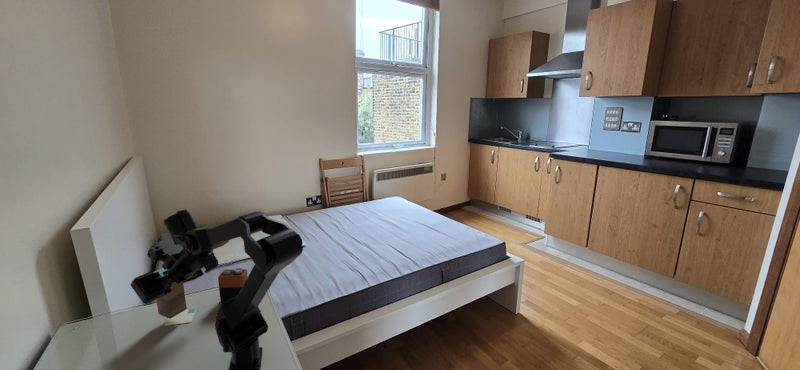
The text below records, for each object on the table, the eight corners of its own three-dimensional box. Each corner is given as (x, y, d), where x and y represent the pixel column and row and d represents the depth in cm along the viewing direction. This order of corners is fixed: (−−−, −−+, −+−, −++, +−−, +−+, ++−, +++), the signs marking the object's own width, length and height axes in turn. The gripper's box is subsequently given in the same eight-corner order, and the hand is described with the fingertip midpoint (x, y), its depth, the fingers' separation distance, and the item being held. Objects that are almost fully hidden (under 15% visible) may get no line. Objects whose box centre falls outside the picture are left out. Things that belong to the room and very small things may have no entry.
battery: (245, 304, 95) (242, 273, 93) (220, 305, 94) (217, 274, 92) (249, 295, 100) (247, 265, 97) (225, 296, 99) (222, 266, 96)
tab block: (186, 309, 87) (181, 268, 84) (170, 318, 83) (163, 276, 80) (175, 304, 89) (169, 265, 86) (158, 314, 85) (152, 272, 82)
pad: (190, 322, 87) (190, 321, 87) (164, 326, 85) (164, 325, 85) (196, 308, 92) (196, 307, 92) (172, 312, 90) (171, 311, 90)
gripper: (206, 220, 87) (182, 249, 94) (128, 247, 71) (106, 280, 77) (231, 253, 87) (205, 280, 93) (158, 288, 70) (133, 318, 76)
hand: (166, 288), depth 85 cm, fingers closed on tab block, 4 cm apart
